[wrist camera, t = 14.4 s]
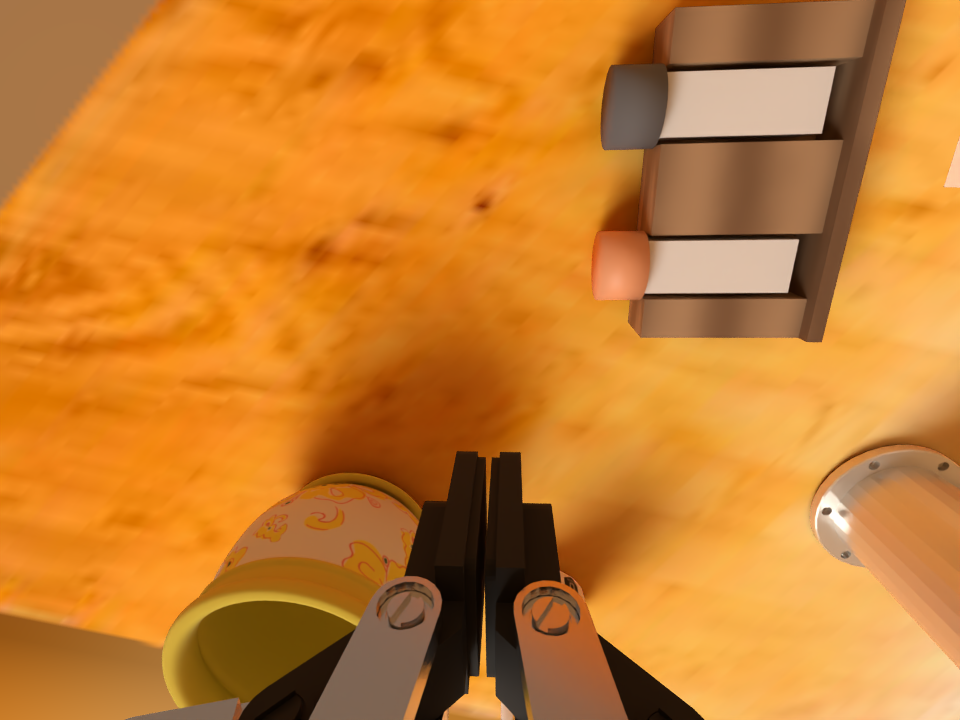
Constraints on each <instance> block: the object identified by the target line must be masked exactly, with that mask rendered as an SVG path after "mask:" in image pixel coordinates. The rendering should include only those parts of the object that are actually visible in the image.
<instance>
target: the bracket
mask: <svg viewBox="0 0 960 720" xmlns="http://www.w3.org/2000/svg"><path fill="white" fill-rule="evenodd" d="M944 187H960V138H959V141H958V144H957V147H956V150H955V153H954V157H953V160H952V163H951V166H950V169H949V172H948V176H947V179H946V182H945V185H944Z"/></svg>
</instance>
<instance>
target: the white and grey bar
mask: <svg viewBox="0 0 960 720" xmlns="http://www.w3.org/2000/svg"><path fill="white" fill-rule="evenodd" d="M835 69H836V66H832V67H802V68H772V69H743V70H713V71H684V72H667V68H666V66H665V64H663V63H658V64H629V65H611V66H610V68H609V71H608V74H607V77H606V82H605V87H604V93H603V100H602V111H601V142H602V147H603V149H604V150H627V149H653V148H654V147H655V146H656V144H657V142H658V140H693V139H733V138H773V137H802V136H808V135H815V134H822V130H823V125H824V120H825V116H826V111H827V106H828V102H829V97H830V92H831V88H832V83H833V78H834V73H835Z"/></svg>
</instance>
